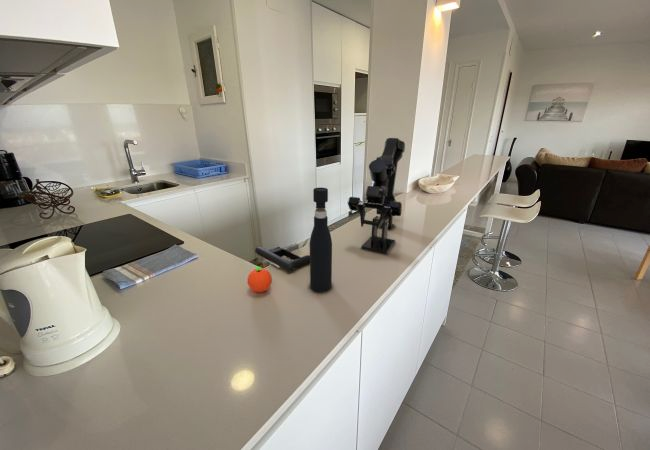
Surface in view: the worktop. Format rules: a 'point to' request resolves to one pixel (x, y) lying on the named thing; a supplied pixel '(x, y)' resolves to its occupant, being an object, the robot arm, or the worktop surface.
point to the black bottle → (320, 245)
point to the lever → (371, 222)
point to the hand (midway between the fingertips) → (369, 227)
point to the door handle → (276, 258)
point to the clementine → (259, 280)
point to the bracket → (379, 239)
